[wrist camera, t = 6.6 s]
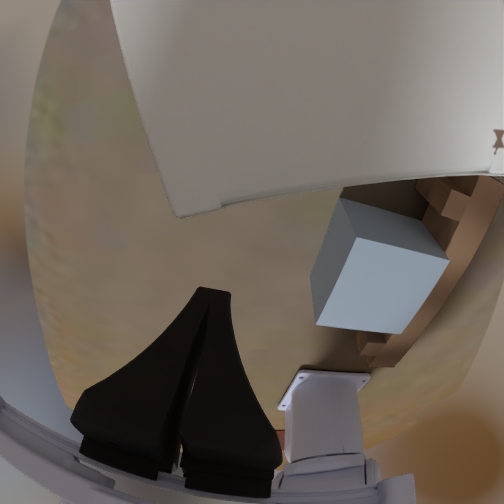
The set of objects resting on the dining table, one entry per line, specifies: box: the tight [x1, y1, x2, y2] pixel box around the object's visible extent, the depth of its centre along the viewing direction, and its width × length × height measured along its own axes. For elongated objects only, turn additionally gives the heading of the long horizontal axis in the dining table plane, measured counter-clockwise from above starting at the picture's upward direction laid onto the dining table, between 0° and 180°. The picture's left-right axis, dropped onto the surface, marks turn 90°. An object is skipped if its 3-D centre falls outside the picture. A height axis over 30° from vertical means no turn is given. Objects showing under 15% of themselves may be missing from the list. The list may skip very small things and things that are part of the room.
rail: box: [354, 175, 504, 367], centre depth 16 cm, size 16×4×4 cm, turn 171°
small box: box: [110, 0, 504, 218], centre depth 8 cm, size 8×6×10 cm
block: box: [310, 198, 450, 334], centre depth 16 cm, size 6×6×4 cm
